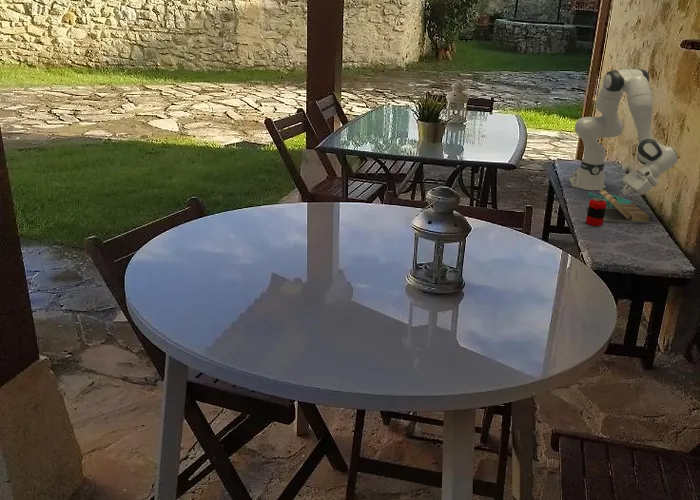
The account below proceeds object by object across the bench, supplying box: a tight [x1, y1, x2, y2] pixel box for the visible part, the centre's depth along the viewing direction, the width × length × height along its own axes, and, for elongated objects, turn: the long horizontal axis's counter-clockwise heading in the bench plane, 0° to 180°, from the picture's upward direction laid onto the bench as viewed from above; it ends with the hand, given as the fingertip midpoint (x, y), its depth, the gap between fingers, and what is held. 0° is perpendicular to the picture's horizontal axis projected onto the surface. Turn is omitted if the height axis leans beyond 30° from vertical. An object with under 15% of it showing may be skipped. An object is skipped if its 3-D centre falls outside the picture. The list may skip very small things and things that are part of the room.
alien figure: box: [587, 192, 633, 208], centre depth 351 cm, size 20×2×20 cm
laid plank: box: [621, 203, 650, 221], centre depth 331 cm, size 18×8×2 cm, turn 0°
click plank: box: [598, 188, 632, 219], centre depth 329 cm, size 18×12×2 cm
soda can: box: [585, 197, 607, 227], centre depth 318 cm, size 8×8×12 cm
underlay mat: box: [585, 206, 651, 225], centre depth 331 cm, size 20×24×1 cm
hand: (622, 193), depth 327 cm, fingers closed
